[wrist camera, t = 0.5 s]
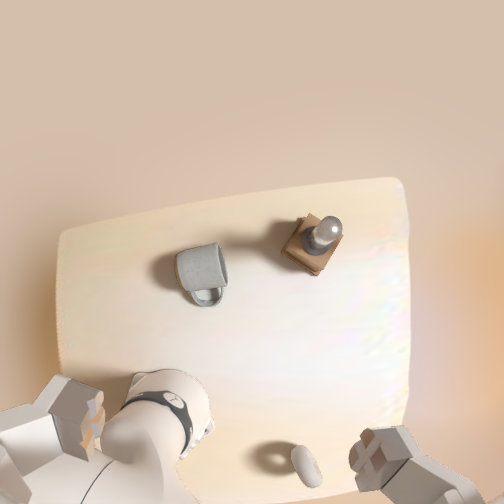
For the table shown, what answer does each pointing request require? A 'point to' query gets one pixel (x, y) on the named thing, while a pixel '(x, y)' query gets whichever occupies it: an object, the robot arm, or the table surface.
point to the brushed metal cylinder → (325, 232)
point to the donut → (306, 466)
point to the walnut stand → (303, 252)
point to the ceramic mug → (201, 271)
